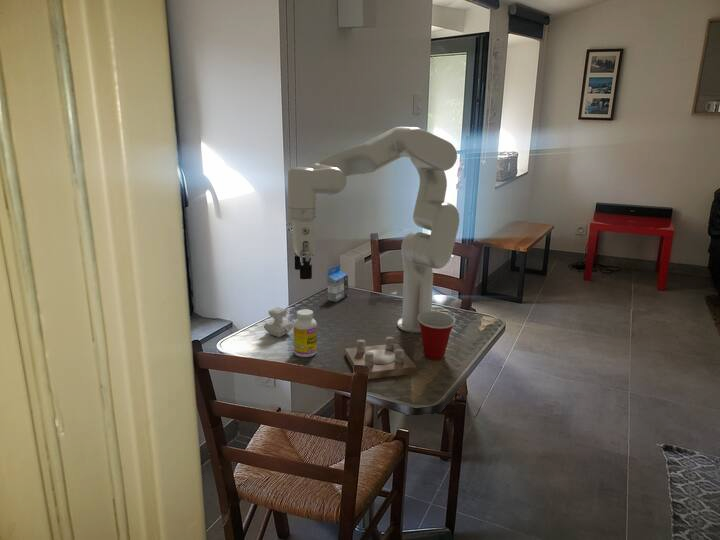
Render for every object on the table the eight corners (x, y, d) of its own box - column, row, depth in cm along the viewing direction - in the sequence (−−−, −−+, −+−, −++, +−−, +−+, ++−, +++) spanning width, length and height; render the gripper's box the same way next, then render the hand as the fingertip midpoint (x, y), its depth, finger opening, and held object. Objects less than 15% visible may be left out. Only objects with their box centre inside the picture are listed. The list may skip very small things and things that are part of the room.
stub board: (397, 349, 160) (397, 332, 159) (416, 373, 146) (417, 354, 144) (345, 354, 156) (345, 337, 155) (359, 380, 142) (359, 361, 140)
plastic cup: (427, 367, 149) (429, 326, 146) (409, 351, 159) (410, 313, 156) (460, 360, 153) (463, 321, 150) (440, 346, 163) (442, 309, 160)
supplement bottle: (307, 360, 153) (306, 317, 149) (289, 354, 156) (288, 313, 153) (321, 351, 158) (321, 310, 155) (303, 346, 162) (302, 306, 158)
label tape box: (336, 302, 201) (336, 270, 197) (327, 300, 203) (326, 269, 199) (348, 295, 208) (348, 265, 205) (339, 294, 210) (339, 263, 207)
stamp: (296, 334, 171) (295, 309, 168) (281, 341, 166) (280, 315, 163) (276, 328, 176) (275, 303, 174) (261, 334, 171) (260, 309, 169)
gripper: (322, 218, 139) (322, 282, 144) (310, 208, 155) (311, 265, 160) (293, 219, 137) (294, 283, 142) (284, 208, 153) (285, 266, 158)
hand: (303, 273), depth 151 cm, fingers open, 9 cm apart
